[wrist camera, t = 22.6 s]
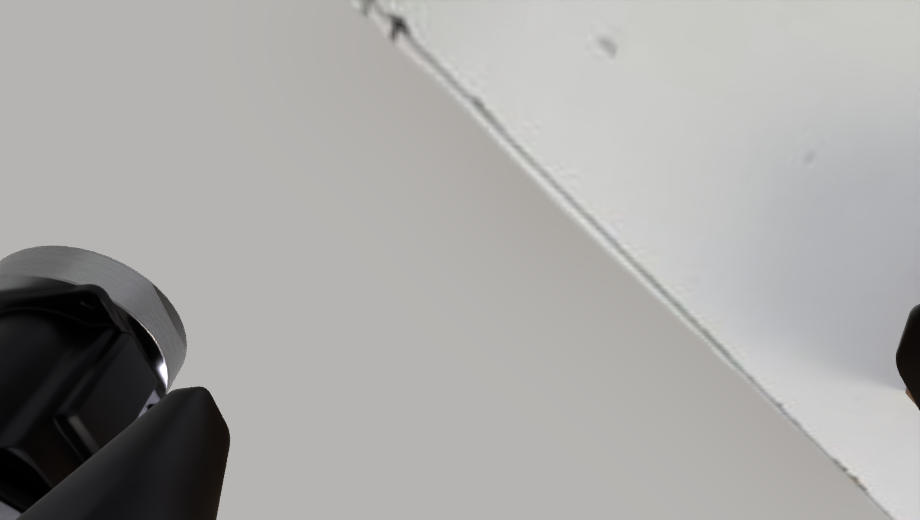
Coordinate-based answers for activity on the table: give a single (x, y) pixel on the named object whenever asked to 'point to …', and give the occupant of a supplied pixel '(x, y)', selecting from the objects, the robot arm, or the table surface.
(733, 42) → the table surface
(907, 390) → the outer bin
